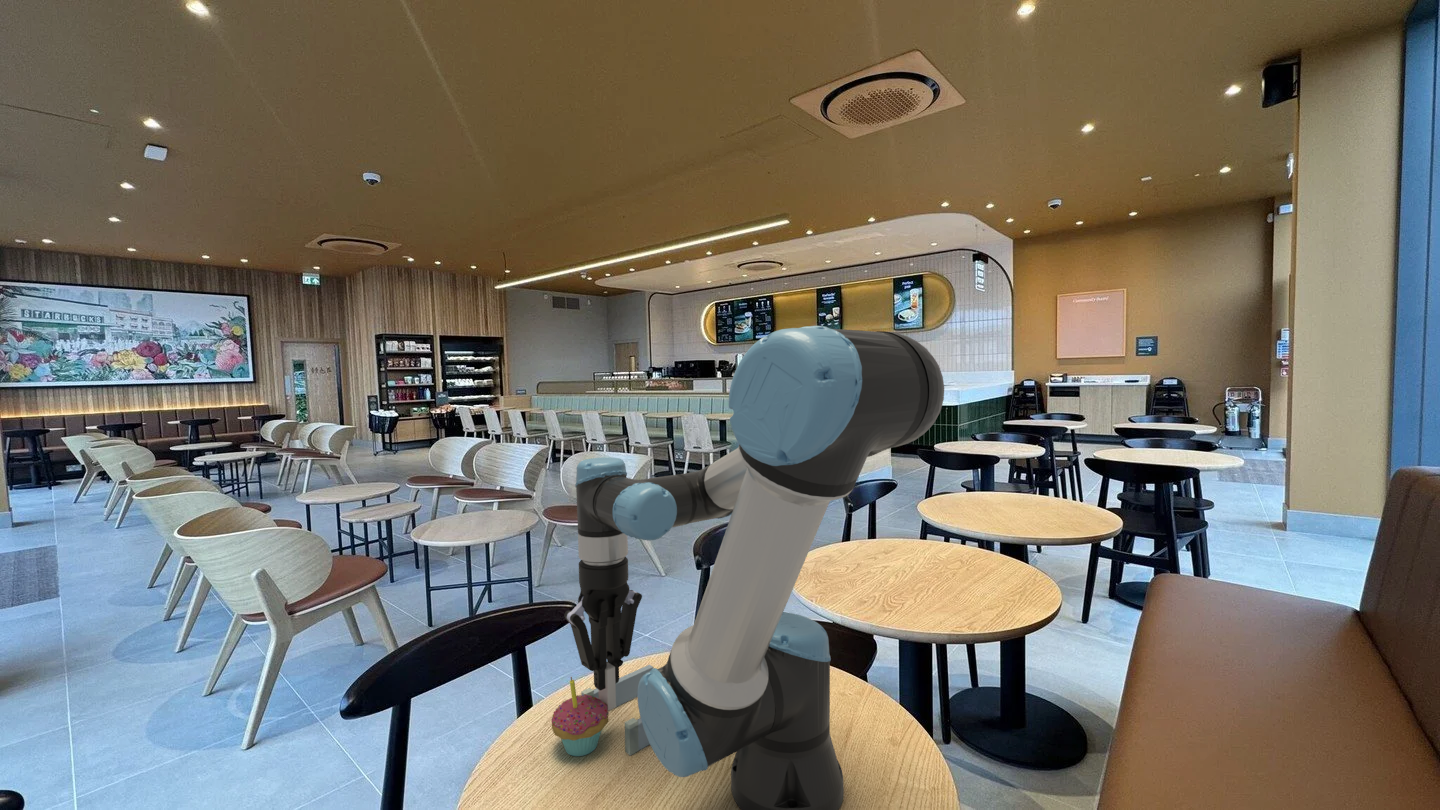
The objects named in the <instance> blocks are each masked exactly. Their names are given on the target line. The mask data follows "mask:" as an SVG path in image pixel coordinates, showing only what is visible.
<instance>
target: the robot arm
mask: <svg viewBox="0 0 1440 810" xmlns="http://www.w3.org/2000/svg"><path fill="white" fill-rule="evenodd" d="M944 382H945V381H944V375H943V373H942V370H941V367H940V365H939V363H938V361H937V360H936V358H935V357H934V356H933V355H932V354H931V352H930V351H929V350H928V349H927V347H925V346H924V345H922V343H920V342H918V340H916V339H913V338H911V337H910V336H907V335H905V334H902V333H897V332H894V331H884V330H883V331H881V330H880V331H879V330H878V331H874V330H873V331H872V330H860V329H859V330H857V329H842V328H840V329H839V328H829V327H828V326H823V325H810V326H802V327H791V328H782V329H778V330H775V331H773V332H770V333H769V334H768V335H764V336H763V337H761V338H760V339H759V340H757V341H756V342H754V344H753V345H751V347H749V349H748V350H747V351H746V352H745V354H743V357H742V358H741V360H740V361H739V363H738V364H737V367H736V369H735V370H734V374H733V376H732V379H731V383H730V388H729V392H728V409H730V410H732V412H733V414H732V415H731V416H730V418H729V421H730V422H729V424H730V427H731V430H732V432H733V435H734V437H735V440H736V441H737V443H738V447H737V448H735V449H734V450H732V451H730V452H729V453H727V454H726V455H723V456H722V457H720V458H718V459H717V460H716V461H713V462H712V463H711V464H709V465H707V466H705V467H704V468H701V469H700V470H697V471H692V472H684V473H679V474H678V473H677V474H673V475H664V476H658V477H656V476H655V477H649V478H642V479H634V478H629V477H627V476H628V472H627V468H626V463H625V461H624V460H623V459H621V458H618V457H593V458H587V459H583V460H581V461H580V462H579V463H577V466H576V478H575V479H576V480H575V484H574V487H575V491H576V492H575V494H576V514H577V515H576V516H577V518H576V519H577V541H578V543H577V545H578V547H577V549H578V559H580V561H579V562H578V584H579V588H580V589H579V590H580V593H579V595H578V597H577V604H576V606H574V608H573V609H572V610H569V609H568V610H566V611H565V612H564V619H565V620H566V621H567V622H568V624H570V628H571V630H572V635H573V637H574V638H573V639H574V642H575V645H576V648H577V652H578V656H579V659H580V663H581V665H582V666H583V667H584V668H586V669H587V670H590V671H591V672H593V685H594V687H595V689H596V688H597V689H598V693H599V699H600V700H601V701H603V702H604V703H605V704H606V705H607V708H608V712H609V711H611V710H614V709H615V708H617V707H616V685H615V684H616V683H618V681H619V678H620V667H621V666H623V665H624V660H622V659H623V658H626V657H629V656H630V653H631V648H632V642H633V635H634V629H635V624H636V617H637V611H638V607H639V605H640V603H641V601H642V599H643V595H642V593H640V592H637V591H635V590H633V589H630V586H629V584H628V581H629V559H628V557H627V555H628V554H629V546H628V545H629V544H628V543H629V541H628V539H629V538H628V536H629V537H630V538H635V539H636V540H643V541H650V542H651V541H657V540H658V539H661V538H663V536H665V535H666V534H667V533H668V532H670V530H671V529H672V528H675V527H681V526H684V525H688V524H689V525H690V524H693V523H699V522H704V521H708V520H715V519H718V520H719V519H725V518H727V517H729V516H730V518H729V520H728V523H727V527H726V529H725V533H724V535H723V538H722V541H721V544H720V546H719V549H718V553H717V555H716V558H715V562H714V565H713V568H712V570H711V574H710V576H709V579H708V581H707V584H706V585H707V586H706V588H705V591H704V594H703V596H702V600H701V602H700V605H699V608H698V611H697V615H696V617H695V618H694V619H695V621H694V622H693V625H690V626H688V627H687V628H686V629H684V630H682V631H681V633H680V634H678V635H677V637H675V640H674V642H673V644H672V647H671V650H670V652H669V655H668V658H667V662H666V664H664V665H663V666H661V667H658V668H655V667H653V669H651V671H650V672H648V673H646V674H645V675H643V676H642V678H641V679H640V681H639V685H638V691H637V697H636V698H637V708H638V712H639V713H638V714H639V716H640V717H639V718H641V720H642V724H643V728H644V731H645V733H646V736H647V738H648V741H649V743H650V745H649V746H650V747H651V749H652V751H653V753H654V754H655V756H656V758H657V759H658V761H659V762H660V764H661V765H662V766H663V767H664V769H666V770H667V771H668V772H669V773H672V774H673V775H674V776H676V777H679V778H686V777H689V776H692V775H694V774H696V773H699V772H703V771H707V770H708V768H709V767H711V766H712V765H714V764H716V763H719V761H722V760H723V759H725V758H727V757H729V756H731V755H733V754H734V753H735V755H734V758H733V761H732V764H731V770H730V771H731V772H730V784H731V785H730V787H731V788H730V789H731V795H732V798H733V799H734V801H735V804H736V805H737V806H738V807H739V809H740V810H839V809H840V807H841V806H842V803H843V800H844V776H843V775H844V774H843V769H842V767H841V764H840V762H839V760H838V758H837V755H836V751H835V748H834V744H833V741H832V737H831V731H830V730H831V727H830V723H831V721H830V719H831V717H830V716H831V713H830V711H831V708H830V707H831V704H830V703H831V702H830V701H831V699H830V698H831V693H830V691H831V689H830V688H831V682H830V681H831V678H830V677H831V660H832V659H831V657H832V656H831V655H830V643H829V636H828V633H827V631H826V630H825V628H824V627H823V626H822V625H821V624H819V623H818V622H817V621H815V620H813V619H811V618H809V617H806V616H804V615H801V614H796V613H792V612H788V611H787V612H786V611H785V609H786V606H787V604H788V603H789V599H790V596H791V594H792V592H793V590H794V587H795V585H796V582H797V580H798V578H799V575H800V573H801V570H802V569H803V566H804V563H805V561H806V559H807V557H808V555H809V551H810V549H811V547H812V545H813V544H814V543H813V542H814V540H815V537H816V536H817V533H818V530H819V528H820V526H821V523H822V521H823V519H824V516H825V514H826V512H827V510H828V507H829V504H830V502H831V501H835V500H840V499H842V498H846V497H847V496H849V495H850V493H852V491H853V490H854V488H855V486H856V483H857V481H858V478H859V476H860V475H861V472H862V469H863V468H864V466H865V465H864V464H865V463H866V460H867V458H869V457H872V456H875V455H877V454H879V453H882V452H884V451H887V450H890V449H892V448H897V447H901V446H903V445H907V444H910V443H912V442H914V441H916V440H917V439H919V438H920V437H921V436H923V435H924V434H925V433H926V432H927V431H929V429H930V428H931V427H932V426H933V425H934V424H935V422H936V420H937V418H938V416H939V415H940V413H941V410H942V408H943V404H944V403H943V402H944V400H945V384H944ZM584 612H585V613H584ZM585 614H587V616H588V622H589V624H590V636H589V631H588V628H587V626H586V623H585V619H586V617H585Z"/></svg>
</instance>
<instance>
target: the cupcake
mask: <svg viewBox="0 0 1440 810" xmlns="http://www.w3.org/2000/svg"><path fill="white" fill-rule="evenodd" d="M569 677H570V680H569V684H570V685H569V687H570V693H571V695H570V696H571V698H568V699H566V700H564V701H562V703H561V704H559V705H558V706H557V708H555V710H554V711H553V714H552V718H551V719H550V721H551V730H552V733H553V734H554V736H556V737H558V738H559V739H561V741H562V744H563V746H564V750H565V752H566V753H567V754H568V755H570V756H572V757H584V756H586V755H589V754H591V753H593V751H595V749H596V748H597V747H598V745H599V739H600V736H601V734H602V731H603V730H604V728H605V727H606V725H608V723H609V711H608V708H607V705H606V704H605V703H604V702H603V701H601V700H600V699H598V698H596V697H593V696H591V695H586V694H585V695H580V694H579V695H577V691H576V684H575V680H574V679H573V676H569Z"/></svg>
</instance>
